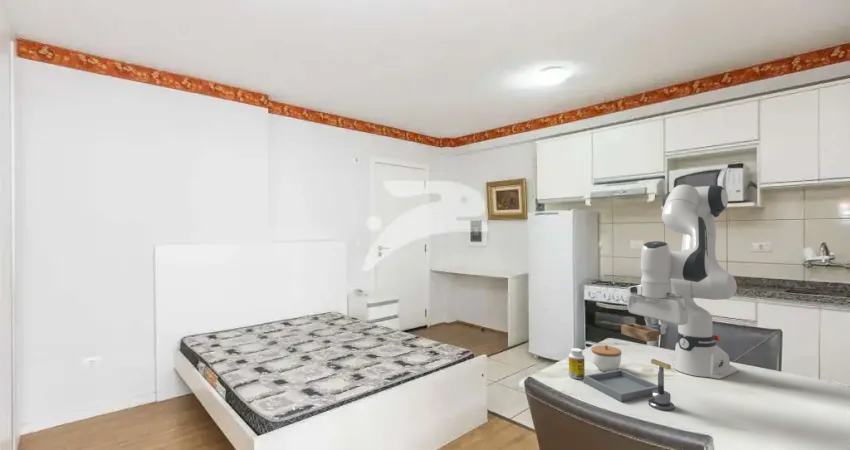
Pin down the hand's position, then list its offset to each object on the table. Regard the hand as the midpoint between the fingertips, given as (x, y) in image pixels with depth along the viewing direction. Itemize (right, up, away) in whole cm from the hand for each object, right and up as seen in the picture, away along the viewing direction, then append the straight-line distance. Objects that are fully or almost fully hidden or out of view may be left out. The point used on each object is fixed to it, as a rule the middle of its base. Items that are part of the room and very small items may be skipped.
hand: (656, 332), depth 135 cm
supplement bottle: (-20, -21, +17) cm, 34 cm away
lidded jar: (-6, -21, +24) cm, 33 cm away
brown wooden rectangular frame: (-4, -1, -2) cm, 4 cm away
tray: (-9, -21, +6) cm, 24 cm away
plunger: (-3, -21, -8) cm, 23 cm away
